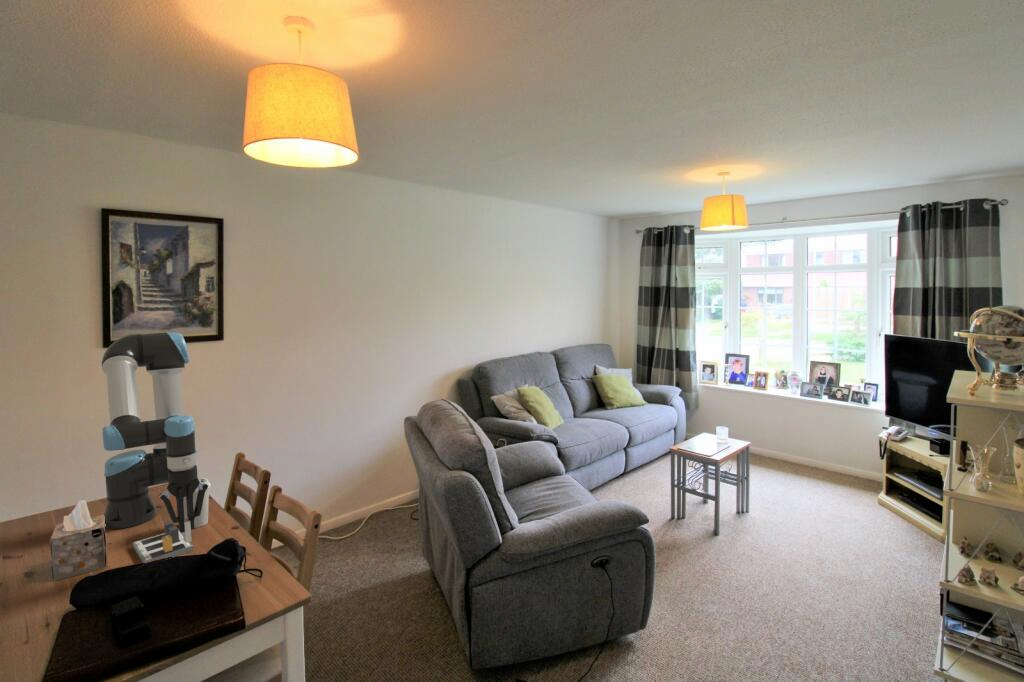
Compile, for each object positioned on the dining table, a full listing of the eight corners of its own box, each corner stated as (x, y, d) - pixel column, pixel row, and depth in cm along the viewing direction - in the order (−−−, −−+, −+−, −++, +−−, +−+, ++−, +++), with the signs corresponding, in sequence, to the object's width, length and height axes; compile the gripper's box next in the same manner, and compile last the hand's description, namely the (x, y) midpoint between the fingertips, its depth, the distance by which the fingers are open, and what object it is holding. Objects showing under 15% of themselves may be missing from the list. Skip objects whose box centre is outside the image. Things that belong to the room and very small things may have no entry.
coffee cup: (197, 532, 169) (194, 488, 168) (173, 529, 171) (170, 486, 170) (219, 519, 179) (217, 477, 177) (196, 516, 181) (193, 475, 179)
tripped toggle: (162, 549, 154) (161, 536, 154) (170, 547, 156) (169, 534, 155) (164, 552, 153) (163, 539, 152) (172, 550, 154) (171, 537, 154)
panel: (132, 547, 160) (131, 529, 159) (179, 533, 169) (178, 516, 168) (144, 566, 149) (143, 547, 148) (193, 550, 158) (192, 532, 157)
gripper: (160, 476, 148) (166, 552, 151) (210, 464, 158) (214, 537, 160) (153, 469, 153) (159, 544, 156) (202, 458, 163) (207, 529, 165)
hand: (187, 540), depth 158 cm, fingers closed
